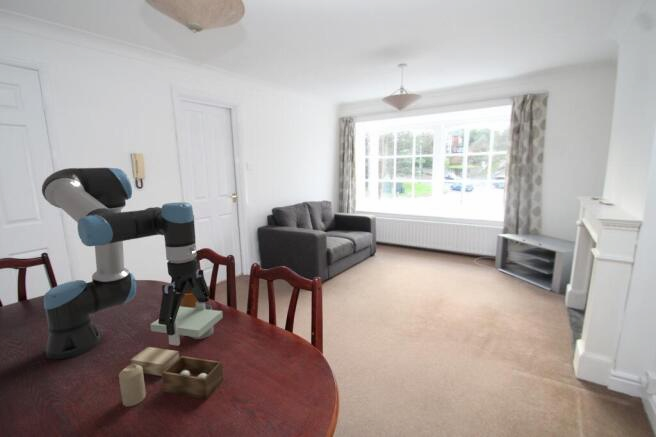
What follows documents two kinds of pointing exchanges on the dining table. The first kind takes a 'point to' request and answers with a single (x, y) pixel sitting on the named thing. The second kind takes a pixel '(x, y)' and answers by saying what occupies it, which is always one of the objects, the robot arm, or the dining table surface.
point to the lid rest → (155, 360)
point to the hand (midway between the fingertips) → (189, 332)
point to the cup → (207, 330)
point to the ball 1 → (186, 373)
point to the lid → (191, 321)
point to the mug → (188, 300)
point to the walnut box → (193, 377)
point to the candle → (132, 385)
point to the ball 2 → (202, 375)
